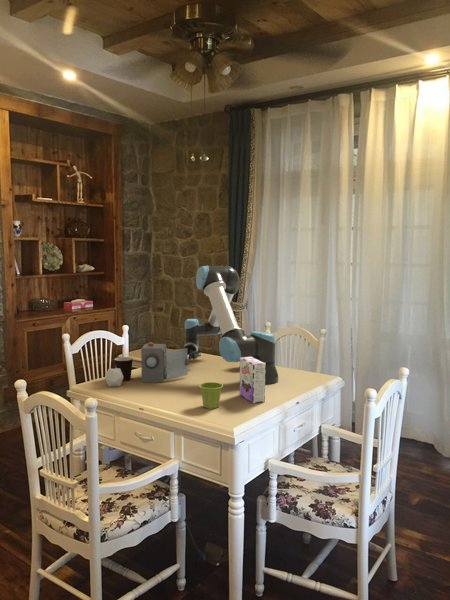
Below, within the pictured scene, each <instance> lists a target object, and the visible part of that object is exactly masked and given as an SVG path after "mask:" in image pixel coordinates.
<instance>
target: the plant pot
mask: <svg viewBox="0 0 450 600" xmlns="http://www.w3.org/2000/svg"><path fill="white" fill-rule="evenodd" d="M198 386H199V389H200V393H201V400H202V405H203V408H205V409H208V410H211V409H216V408H219V405H220V400H221V393H222V389H223V387H224V384H223V383H221V382H217V381H216V382H213V381H212V382H211V381H210V382H203V383H200V384H199V385H198Z"/></svg>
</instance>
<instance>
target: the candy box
mask: <svg viewBox="0 0 450 600" xmlns="http://www.w3.org/2000/svg"><path fill="white" fill-rule="evenodd" d="M265 367H266V363H263V362H261V361H259V360H257V359H255V358H253V357H241V358H240V361H239V396H240V397H242V398H244V399H245V400H247V401H248V402H250V403H251V404H260V403H262V402H263V403H266V402H265V400H266V384H265Z"/></svg>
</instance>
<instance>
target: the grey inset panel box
mask: <svg viewBox="0 0 450 600" xmlns="http://www.w3.org/2000/svg"><path fill="white" fill-rule="evenodd" d="M164 351H167V344H166V343H154V342H151V341H150V342H148V343H144V345H143V346H142V347H141V349H140V355H141V356H140V357H141V368H140V369H141V383H163V382H164V381H165V379H164V359H163V352H164Z"/></svg>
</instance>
